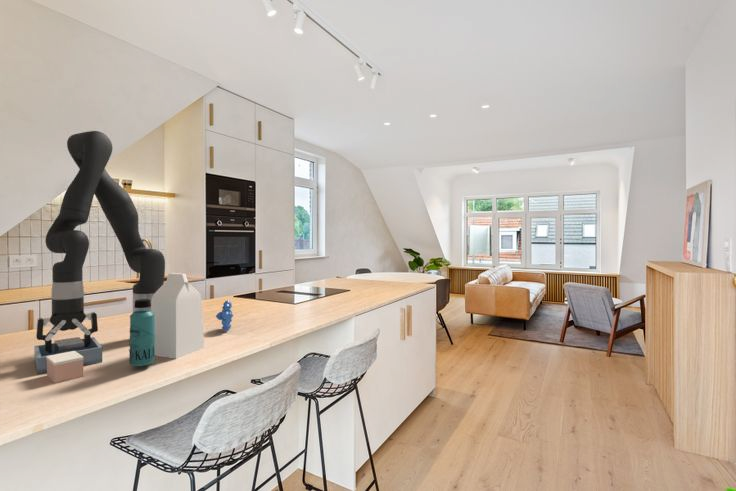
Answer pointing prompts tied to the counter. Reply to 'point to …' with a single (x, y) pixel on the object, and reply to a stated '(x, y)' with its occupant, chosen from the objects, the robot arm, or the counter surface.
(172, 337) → the milk
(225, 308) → the grapes
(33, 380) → the counter surface
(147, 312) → the beverage bottle
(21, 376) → the counter surface
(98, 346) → the box
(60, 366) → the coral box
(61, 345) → the iron block
